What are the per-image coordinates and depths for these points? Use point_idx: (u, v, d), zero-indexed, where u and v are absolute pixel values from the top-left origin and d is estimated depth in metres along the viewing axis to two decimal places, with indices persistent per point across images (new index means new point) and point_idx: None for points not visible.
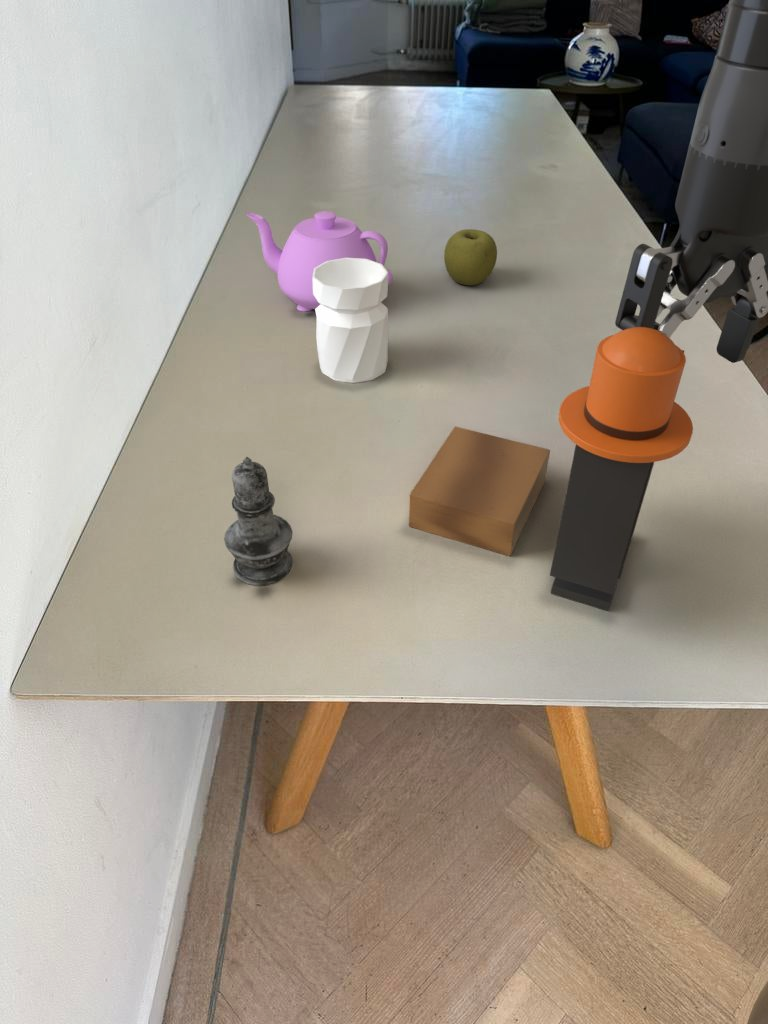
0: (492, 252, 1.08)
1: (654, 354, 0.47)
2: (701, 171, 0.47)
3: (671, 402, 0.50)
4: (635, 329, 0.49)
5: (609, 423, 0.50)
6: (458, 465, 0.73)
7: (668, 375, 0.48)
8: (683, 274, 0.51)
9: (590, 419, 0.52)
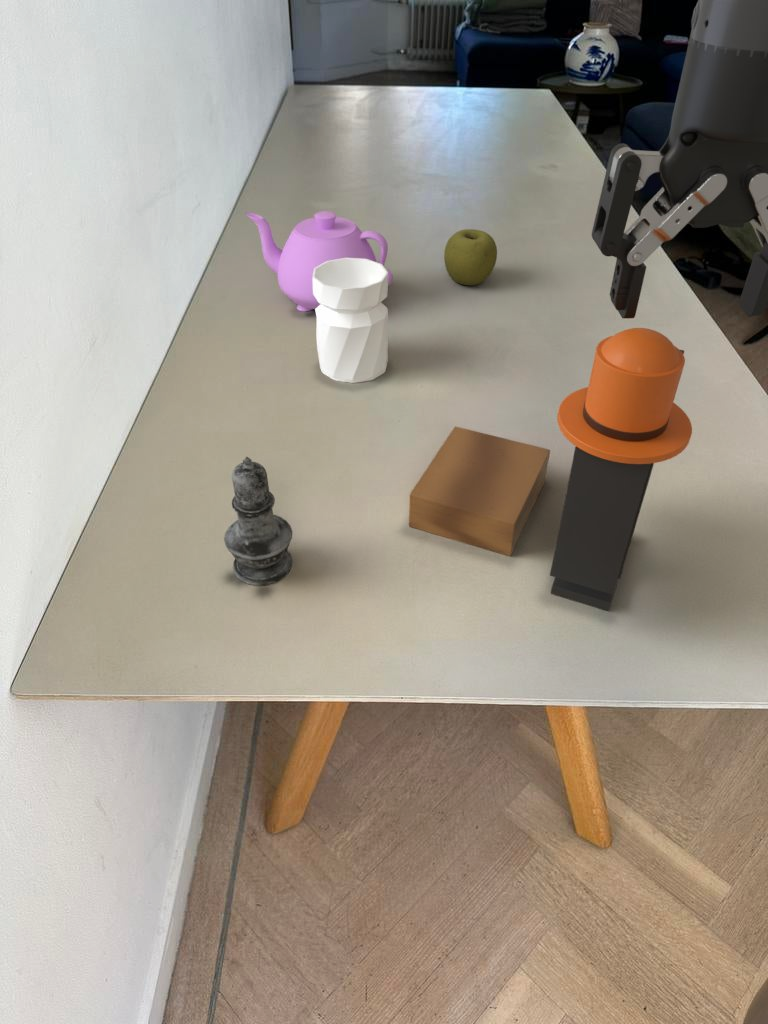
0: (492, 252, 1.08)
1: (654, 355, 0.47)
2: (688, 60, 0.42)
3: (670, 403, 0.50)
4: (634, 329, 0.49)
5: (608, 424, 0.50)
6: (458, 465, 0.73)
7: (668, 376, 0.47)
8: (665, 185, 0.45)
9: (590, 420, 0.51)
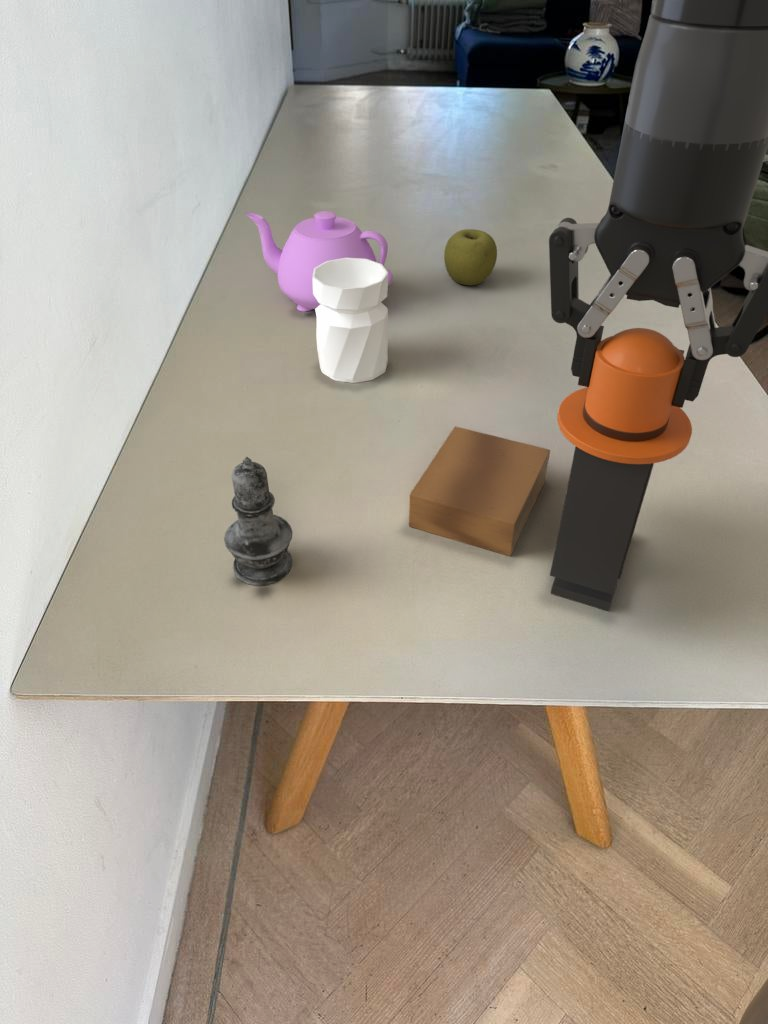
0: (492, 252, 1.08)
1: (654, 355, 0.47)
2: None
3: (670, 403, 0.50)
4: (634, 330, 0.49)
5: (608, 424, 0.50)
6: (458, 465, 0.73)
7: (668, 376, 0.47)
8: None
9: (590, 420, 0.51)
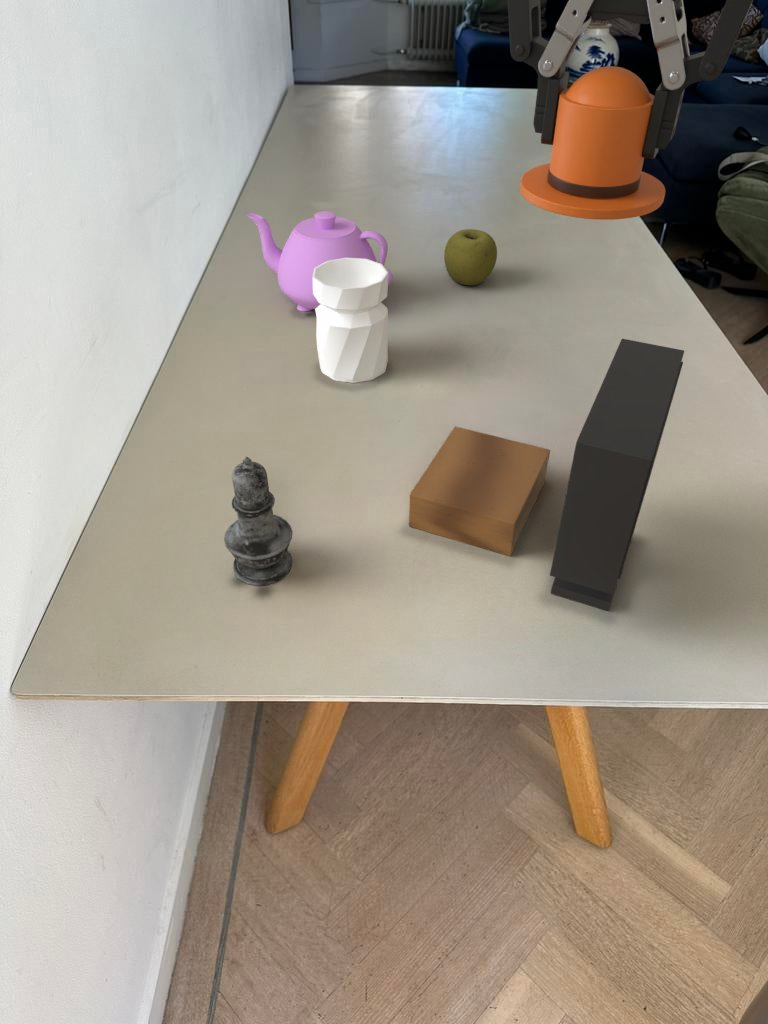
0: (492, 252, 1.08)
1: (621, 87, 0.43)
2: None
3: (641, 152, 0.45)
4: (601, 67, 0.44)
5: (573, 179, 0.46)
6: (458, 465, 0.73)
7: (637, 111, 0.43)
8: None
9: (554, 180, 0.47)
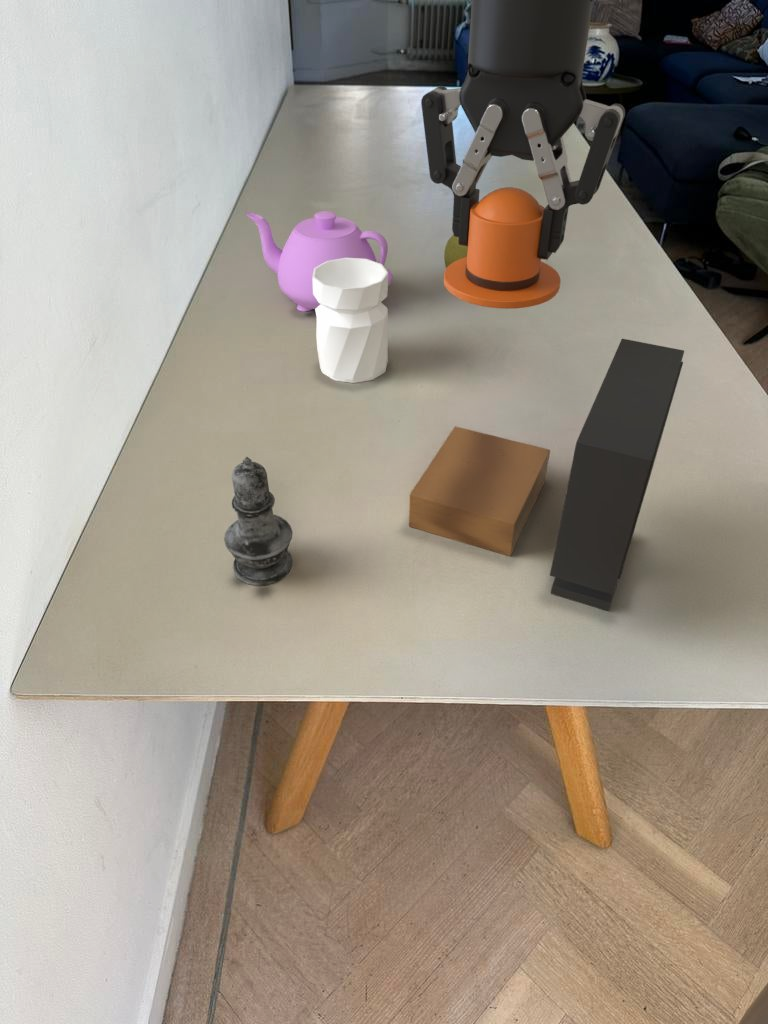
0: None
1: (516, 206, 0.54)
2: None
3: (536, 254, 0.56)
4: (502, 188, 0.55)
5: (483, 275, 0.57)
6: (458, 465, 0.73)
7: (529, 225, 0.54)
8: (465, 112, 0.53)
9: (469, 274, 0.58)
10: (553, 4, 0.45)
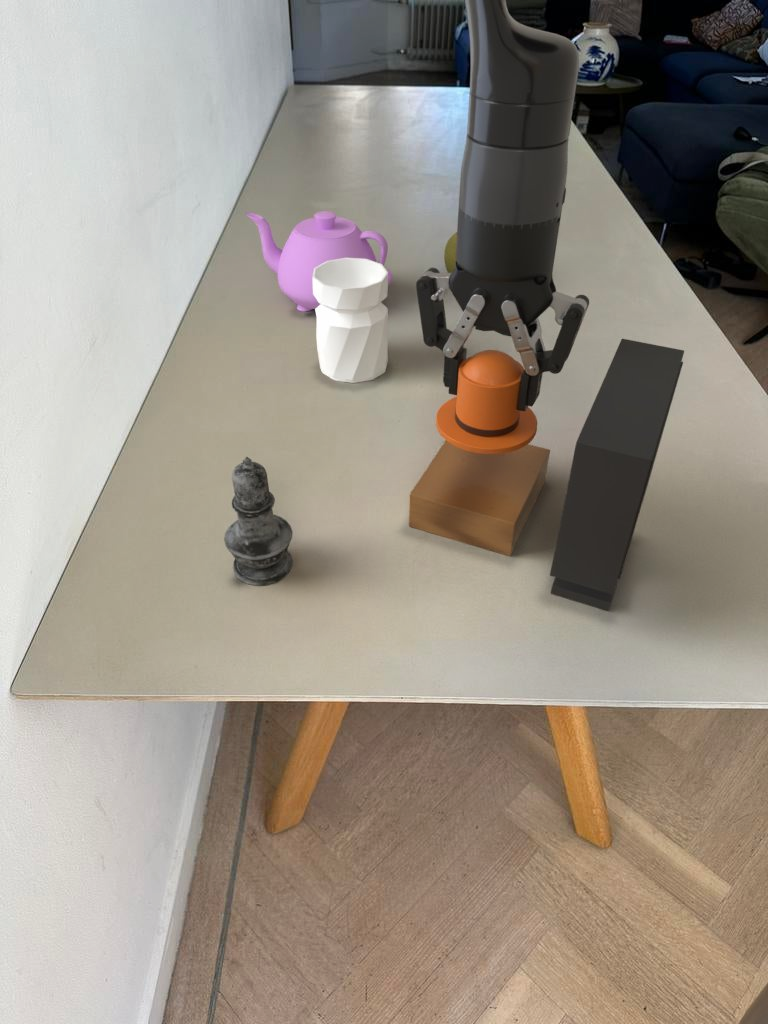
0: None
1: (497, 371, 0.63)
2: None
3: (515, 407, 0.65)
4: (486, 351, 0.64)
5: (469, 424, 0.66)
6: (458, 465, 0.73)
7: (508, 387, 0.63)
8: (453, 294, 0.61)
9: (458, 420, 0.67)
10: (525, 231, 0.53)
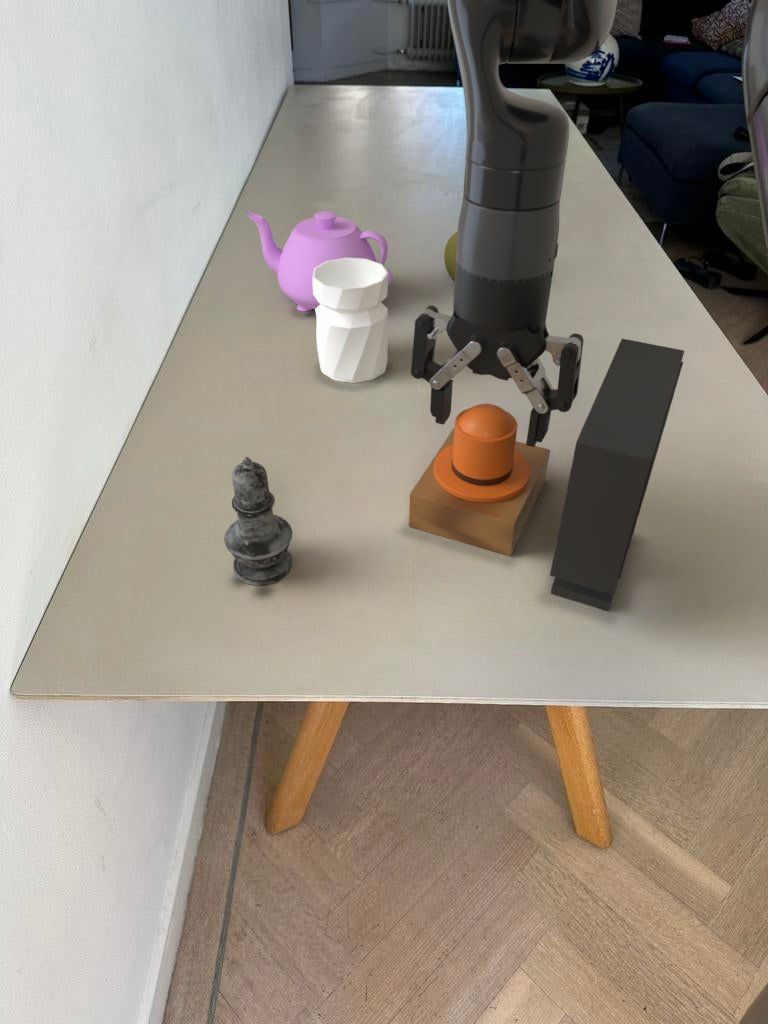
0: None
1: (491, 426, 0.66)
2: None
3: (509, 458, 0.68)
4: (481, 406, 0.68)
5: (465, 473, 0.69)
6: None
7: (502, 441, 0.66)
8: (451, 340, 0.64)
9: (454, 469, 0.70)
10: (519, 285, 0.56)
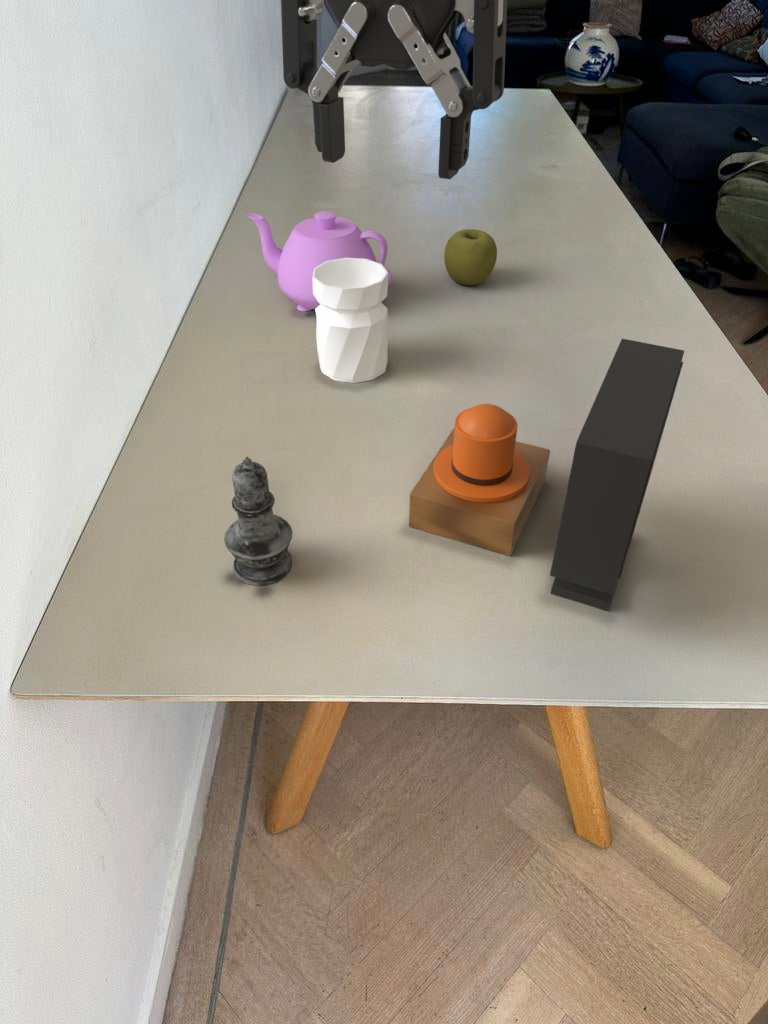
0: (492, 252, 1.08)
1: (491, 426, 0.66)
2: None
3: (509, 458, 0.68)
4: (481, 406, 0.68)
5: (465, 473, 0.69)
6: None
7: (502, 441, 0.66)
8: (331, 16, 0.47)
9: (454, 469, 0.70)
10: None
